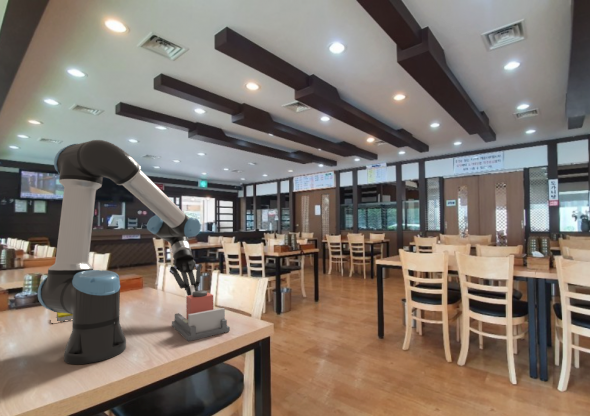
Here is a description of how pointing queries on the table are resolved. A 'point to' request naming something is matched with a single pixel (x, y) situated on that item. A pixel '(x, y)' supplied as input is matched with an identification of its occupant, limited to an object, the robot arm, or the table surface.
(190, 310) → the block
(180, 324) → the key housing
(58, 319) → the emergency button
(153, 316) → the table surface
